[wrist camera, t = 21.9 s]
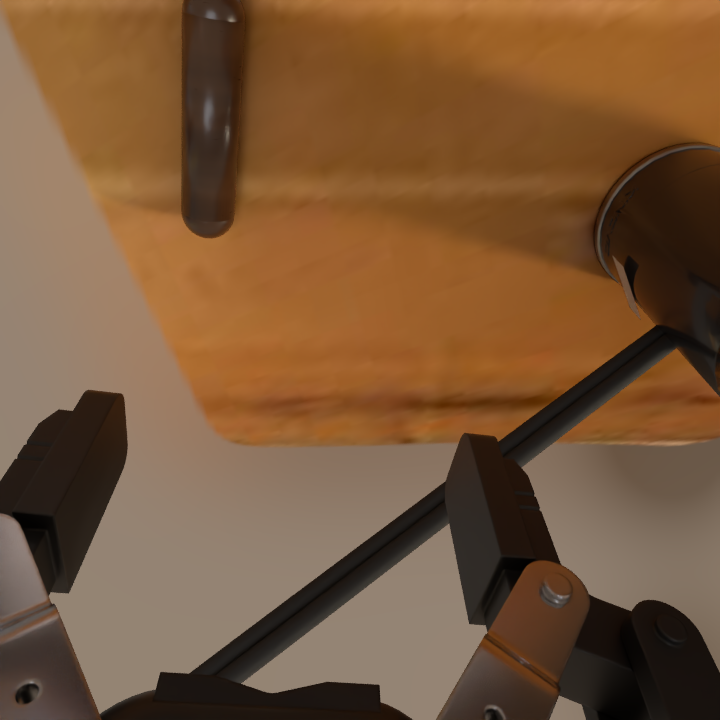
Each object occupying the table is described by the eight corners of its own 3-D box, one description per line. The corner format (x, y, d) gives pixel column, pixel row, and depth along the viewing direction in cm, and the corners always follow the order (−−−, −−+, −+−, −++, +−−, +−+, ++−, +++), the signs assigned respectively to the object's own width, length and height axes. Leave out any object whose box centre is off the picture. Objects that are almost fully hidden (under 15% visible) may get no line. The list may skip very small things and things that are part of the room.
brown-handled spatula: (239, 231, 36) (232, 250, 33) (184, 222, 36) (172, 241, 33) (265, -188, 25) (257, -205, 23) (186, -207, 25) (169, -226, 22)
